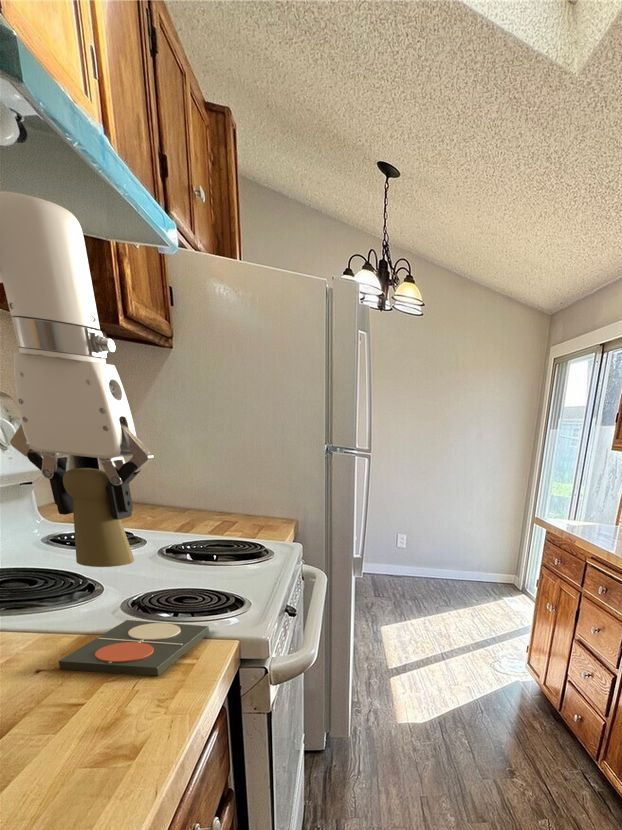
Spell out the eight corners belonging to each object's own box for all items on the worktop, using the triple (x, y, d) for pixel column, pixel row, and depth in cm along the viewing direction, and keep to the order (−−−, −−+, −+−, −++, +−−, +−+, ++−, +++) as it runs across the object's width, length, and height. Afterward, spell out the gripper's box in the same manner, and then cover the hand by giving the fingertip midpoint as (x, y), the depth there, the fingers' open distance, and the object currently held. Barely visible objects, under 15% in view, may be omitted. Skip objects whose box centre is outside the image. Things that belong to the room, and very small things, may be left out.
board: (60, 669, 72) (57, 659, 71) (128, 627, 86) (126, 618, 85) (158, 676, 73) (156, 666, 72) (209, 633, 87) (208, 624, 87)
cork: (63, 561, 68) (41, 466, 63) (107, 552, 73) (89, 464, 69) (104, 569, 67) (85, 473, 62) (146, 560, 72) (130, 471, 68)
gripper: (162, 357, 64) (184, 517, 72) (1, 337, 62) (42, 503, 70) (126, 351, 58) (155, 527, 65) (-55, 328, 56) (-4, 513, 63)
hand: (96, 513), depth 68 cm, fingers closed on cork, 5 cm apart
